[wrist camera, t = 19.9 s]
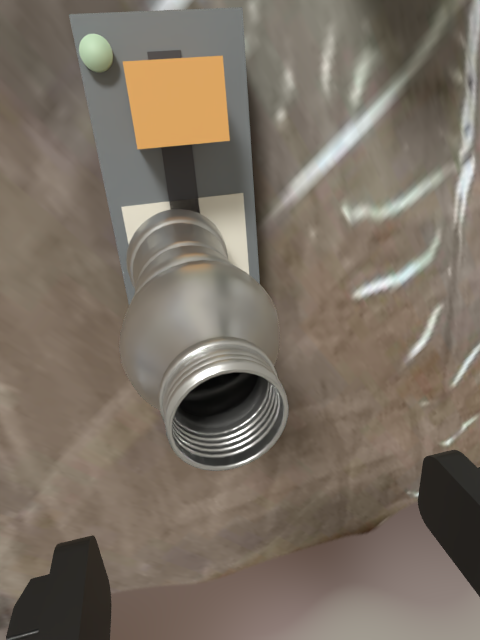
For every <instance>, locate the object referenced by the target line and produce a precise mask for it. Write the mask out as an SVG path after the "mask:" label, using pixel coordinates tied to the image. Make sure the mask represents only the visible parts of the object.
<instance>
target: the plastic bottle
mask: <svg viewBox="0 0 480 640" xmlns="http://www.w3.org/2000/svg"><path fill="white" fill-rule="evenodd" d="M126 263H127V270H128V273H129V276H130V279H131V282H132V285H133V286H134V288H135V294H134V297H133V299H132V301H131V303H130V305H129V307H128V309H127V312H126V315H125V318H124V321H123V325H122V329H121V333H120V344H119V350H120V357H121V363H122V365H123V368H124V370H125V373H126V375H127V377H128V378H129V380H130V382H131V384H132V385H133V387H134V388H135V389H136V391H137V392H138V394H139V395H140V396H141V397H142V398H143V399H144V400H145V401H146V402H147V403H149V404H150V405H151V406H153V407H155V408H157V409H158V410H160V412H161V415H162V418H163V420H164V422H165V428H166V435H167V438H168V440H169V443H170V445H171V448H172V449H173V451H174V452H175V453H176V455H177V456H178V457H179V458H180V459H182V460H183V461H184V462H186V463H187V464H189V465H191V466H193V467H196V468H200V469H203V470H211V471H221V470H229V469H234V468H238V467H240V466H243V465H246V464H248V463H250V462H252V461H254V460H256V459H258V458H259V457H260V456H262V455H263V454H264V453H266V452H267V451H268V450H269V449H270V448H271V447H272V446H273V445H274V444H275V443H276V441H277V440H278V439H279V437H280V436H281V434H282V432H283V430H284V428H285V426H286V422H287V419H288V408H289V406H288V401H287V396H286V392H285V390H284V388H283V386H282V384H281V382H280V381H279V379H278V376H277V372H276V370H275V368H274V365H275V363H276V361H277V356H278V352H279V346H280V329H279V320H278V315H277V310H276V308H275V306H274V304H273V301H272V299H271V297H270V296H269V295H268V293H267V292H266V291H265V289H264V288H263V287H262V286H261V285H260V284H259V283H258V282H257V281H256V280H255V279H253V278H252V277H251V276H250V275H249V274H247V273H246V272H245V271H243V270H241V269H240V268H238V267H236V266H235V265H233V264H231V263H230V262H229V261H228V253H227V249H226V244H225V240H224V238H223V236H222V234H221V232H220V231H219V229H218V228H217V227H216V225H215V224H214V223H213V222H212V221H210V220H209V219H208V218H207V217H205V216H203V215H201V214H200V213H197V212H194V211H191V210H184V209H172V210H166V211H163V212H159V213H157V214H155V215H154V216H152V217H150V218H149V219H147V220H146V221H145V222H144V223H143V224H141V225H140V227H139V228H138V229H137V230H136V232H135V233H134V235H133V237H132V239H131V240H130V243H129V246H128V250H127V258H126Z"/></svg>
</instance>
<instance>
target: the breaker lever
mask: <svg viewBox="0 0 480 640" xmlns="http://www.w3.org/2000/svg"><path fill="white" fill-rule="evenodd" d="M123 67H124V73H125V79H126V85H127V90H128V96H129V102H130V108H131V114H132V120H133V126H134V132H135V138H136V144H137V149H148V148H158V147H169V146H180V145H190V144H201V143H211V142H222V141H230V137H229V125H228V113H227V101H226V89H225V76H224V64H223V56H207V57H190V58H173V59H156V60H139V61H123Z"/></svg>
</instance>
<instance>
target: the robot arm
mask: <svg viewBox="0 0 480 640" xmlns="http://www.w3.org/2000/svg"><path fill="white" fill-rule="evenodd" d="M418 506H419V510H420V514H421V516H422V519H423V521H424V523H425V524H426V526H427V527H428V529H429V530H430V531H431V533H432V534H433V535H434V537H435V538H436V539H437V541H438V542H439V543H440V545H441V546H442V547H443V549H444V550H445V551H446V553H447V554H448V555H449V557H450V558H451V559H452V560H453V562H454V563H455V565H456V566H457V567H458V568H459V570H460V571H461V573H462V574H463V575H464V577H465V578H466V579H467V581H468V582H469V583H470V585H471V586H472V587H473V588H474V590H475V591H476V592H477V594H478V595H479V597H480V467H479V468H477V467H476V466H475V465H474V464H473V463H472V462H471V461H470V460H469V459H468V458H467V457H466V456H465V455H464V454H462V453H461V452H459V451H457V450H451V451H447V452H443V453H438V454H434V455H430V456H427V457H425V458H424V461H423V467H422V474H421V481H420V488H419V496H418ZM110 625H111V592H110V585H109V580H108V576H107V573H106V570H105V567H104V564H103V560H102V557H101V554H100V551H99V548H98V544H97V541H96V539H95V537H94V536H88V537H84V538H80V539H76V540H72V541H68V542H63V543H59V544H57V545H56V547H55V550H54V554H53V559H52V564H51V569H50V574H48V575H45V576H41V577H37V578H33V579H31V580H30V582H29V583H28V585H27V587H26V588H25V590H24V591H23V593H22V595H21V596H20V598H19V600H18V601H17V603H16V604H15V606H14V609H13V613H12V616H11V620H10V624H9V628H8V632H7V636H6V640H110V627H111V626H110Z"/></svg>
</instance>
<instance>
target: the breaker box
mask: <svg viewBox="0 0 480 640" xmlns="http://www.w3.org/2000/svg"><path fill="white" fill-rule="evenodd" d="M69 17H70V22H71V27H72V32H73V37H74V41H75V46H76V51H77V56H78V61H79V66H80V70H81V75H82V80H83V85H84V90H85V95H86V99H87V104H88V109H89V114H90V119H91V124H92V128H93V133H94V138H95V143H96V148H97V152H98V157H99V162H100V167H101V172H102V177H103V181H104V186H105V191H106V196H107V201H108V206H109V210H110V215H111V220H112V225H113V230H114V234H115V239H116V244H117V249H118V254H119V259H120V263H121V268H122V273H123V278H124V283H125V288H126V292H127V297H128V302H129V305H130V303H131V301H132V299H133V297H134V294H135V288H134V286H133V285H132V282H131V279H130V276H129V273H128V270H127V263H126V258H127V250H128V246H129V243H130V240H131V239H132V237H133V235H134V233H135V232H136V230H137V229H138V228H139V227H140V225H141V224H143V223H144V222H145V221H146V220H147V219H149V218H150V217H152V216H154V215H155V214H157V213H159V212H163V211H166V210H172V209H184V210H191V211H194V212H197V213H200V214H201V215H203V216H205V217H207V218H208V219H209V220H210V221H212V222H213V223H214V224H215V225H216V227H217V228H218V229H219V231H220V232H221V234H222V236H223V238H224V240H225V244H226V249H227V253H228V261H229V262H230V263H231V264H233V265H235V266H236V267H238V268H240V269H241V270H243V271H245V272H246V273H247V274H249V275H250V276H251V277H252V278H253V279H255V280H256V281H257V282H258V283H259V284H260V279H259V263H258V247H257V232H256V216H255V200H254V184H253V169H252V153H251V137H250V122H249V106H248V90H247V74H246V59H245V43H244V27H243V11H242V7H240V8H215V9H189V10H164V11H139V12H113V13H88V14H69ZM207 56H223V64H224V76H225V89H226V101H227V113H228V125H229V137H230V141H222V142H211V143H201V144H190V145H180V146H169V147H158V148H148V149H137V144H136V138H135V132H134V126H133V120H132V114H131V108H130V102H129V96H128V90H127V85H126V79H125V73H124V67H123V61H139V60H156V59H173V58H190V57H207Z"/></svg>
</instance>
